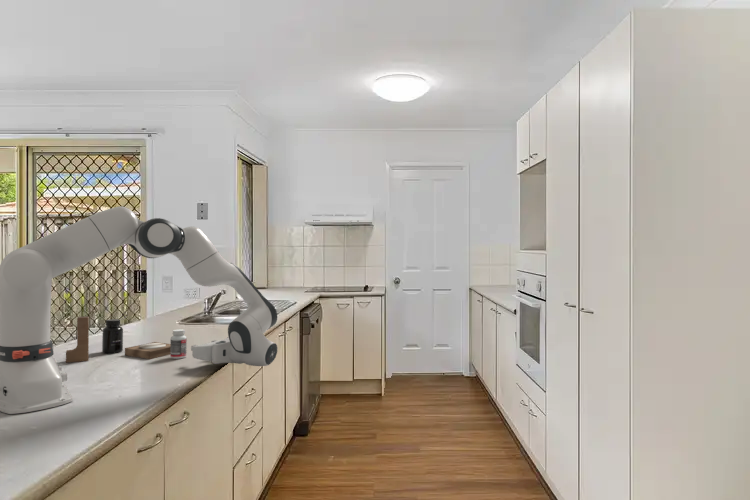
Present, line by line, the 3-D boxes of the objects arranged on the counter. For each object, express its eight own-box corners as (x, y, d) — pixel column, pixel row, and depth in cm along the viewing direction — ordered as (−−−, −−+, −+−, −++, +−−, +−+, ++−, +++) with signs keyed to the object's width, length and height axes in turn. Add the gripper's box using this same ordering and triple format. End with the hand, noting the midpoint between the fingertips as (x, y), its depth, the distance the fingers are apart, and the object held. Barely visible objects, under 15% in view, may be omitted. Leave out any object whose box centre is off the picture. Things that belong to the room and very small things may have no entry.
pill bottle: (184, 359, 177) (184, 331, 177) (168, 359, 177) (168, 331, 177) (188, 355, 183) (188, 328, 183) (172, 355, 182) (172, 328, 182)
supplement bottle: (116, 354, 184) (116, 321, 184) (98, 353, 184) (98, 321, 184) (126, 350, 191) (126, 318, 191) (108, 350, 191) (108, 318, 191)
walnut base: (179, 352, 188) (179, 344, 188) (150, 359, 177) (150, 350, 177) (154, 348, 194) (154, 340, 194) (124, 355, 182) (124, 347, 182)
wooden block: (88, 359, 176) (88, 316, 176) (88, 361, 173) (88, 317, 173) (66, 360, 173) (66, 317, 173) (65, 362, 170) (65, 318, 170)
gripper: (254, 335, 178) (224, 331, 184) (212, 345, 159) (180, 341, 165) (254, 352, 178) (223, 349, 184) (212, 365, 160) (180, 360, 166)
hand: (202, 345), depth 175 cm, fingers open, 8 cm apart
